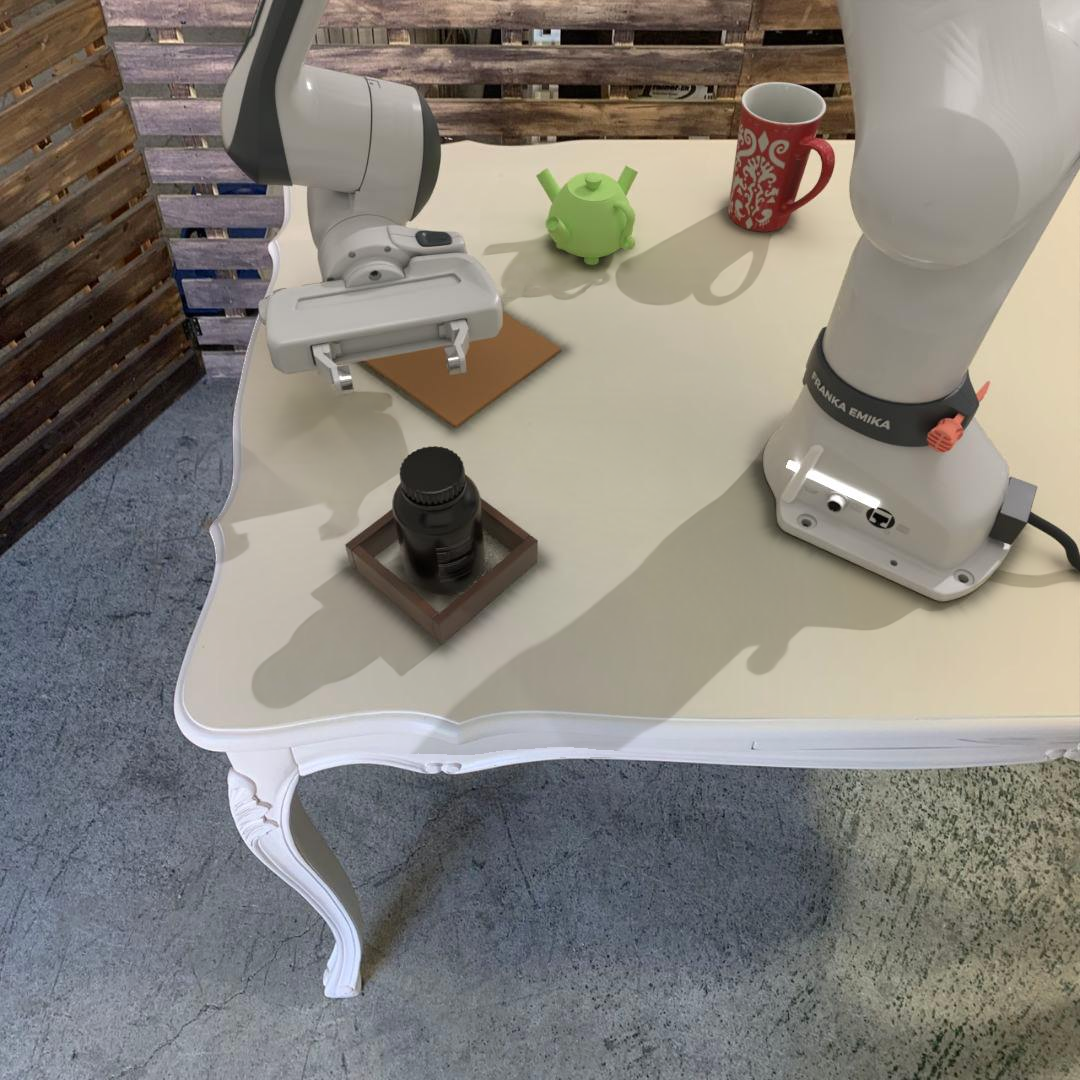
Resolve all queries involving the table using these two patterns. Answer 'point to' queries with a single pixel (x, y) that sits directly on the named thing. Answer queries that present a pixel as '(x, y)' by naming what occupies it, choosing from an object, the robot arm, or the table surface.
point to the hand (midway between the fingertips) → (401, 378)
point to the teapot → (590, 213)
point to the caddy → (467, 603)
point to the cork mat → (468, 371)
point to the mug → (776, 154)
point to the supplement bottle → (438, 521)
